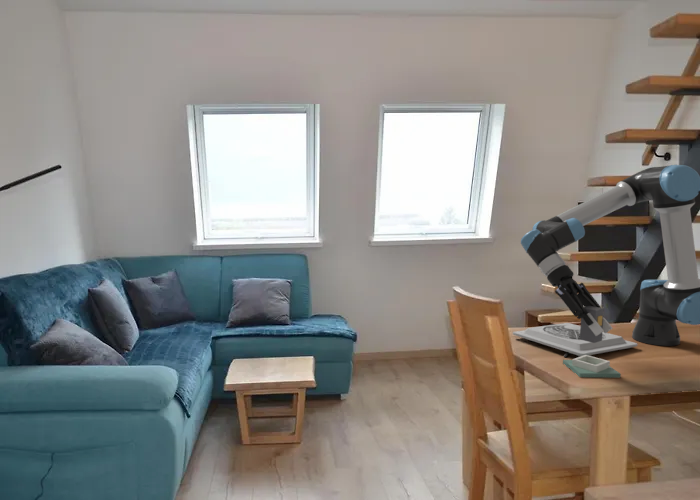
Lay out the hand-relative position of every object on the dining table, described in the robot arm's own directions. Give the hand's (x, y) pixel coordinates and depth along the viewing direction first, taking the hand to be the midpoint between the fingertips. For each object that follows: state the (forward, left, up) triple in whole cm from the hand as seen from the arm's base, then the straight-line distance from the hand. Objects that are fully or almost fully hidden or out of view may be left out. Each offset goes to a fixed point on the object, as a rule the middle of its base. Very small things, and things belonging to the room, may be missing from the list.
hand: (604, 332), depth 144 cm
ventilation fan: (-4, -30, -13) cm, 33 cm away
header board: (+2, -3, -13) cm, 13 cm away
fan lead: (+3, -18, -13) cm, 23 cm away
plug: (+2, -3, -3) cm, 5 cm away
